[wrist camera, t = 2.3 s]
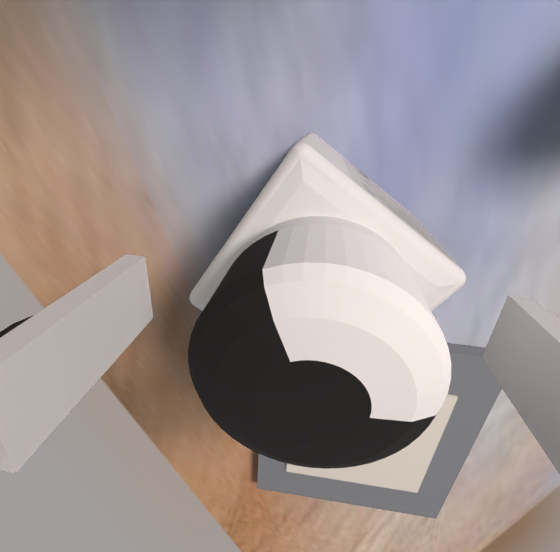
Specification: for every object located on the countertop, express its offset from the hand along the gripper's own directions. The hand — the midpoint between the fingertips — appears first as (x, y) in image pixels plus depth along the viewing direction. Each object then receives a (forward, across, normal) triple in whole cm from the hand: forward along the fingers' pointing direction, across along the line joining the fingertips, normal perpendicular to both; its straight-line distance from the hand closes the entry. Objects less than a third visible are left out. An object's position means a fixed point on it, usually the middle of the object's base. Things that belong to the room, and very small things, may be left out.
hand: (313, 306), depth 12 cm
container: (+8, 0, 0) cm, 8 cm away
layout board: (+8, +5, -16) cm, 18 cm away
